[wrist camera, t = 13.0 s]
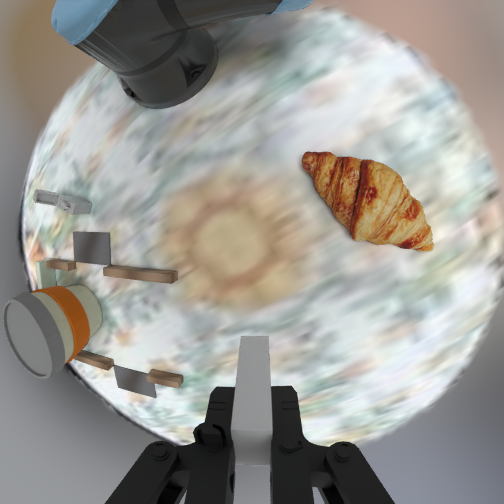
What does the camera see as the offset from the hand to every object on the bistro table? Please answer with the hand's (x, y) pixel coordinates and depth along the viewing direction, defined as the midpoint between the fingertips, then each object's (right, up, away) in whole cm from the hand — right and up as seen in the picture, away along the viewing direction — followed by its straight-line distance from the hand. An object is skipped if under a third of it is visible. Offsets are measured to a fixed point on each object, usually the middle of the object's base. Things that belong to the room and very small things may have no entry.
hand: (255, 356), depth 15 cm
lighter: (-29, +14, +24) cm, 40 cm away
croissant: (+15, +12, +19) cm, 27 cm away
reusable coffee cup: (-30, -4, +27) cm, 40 cm away
